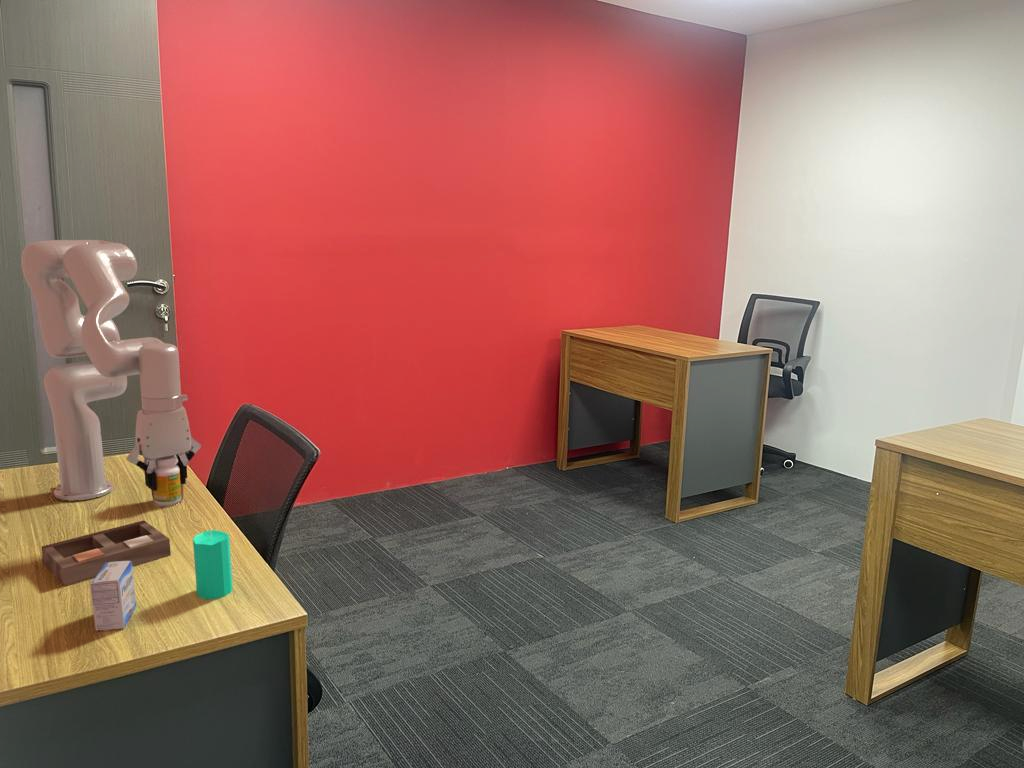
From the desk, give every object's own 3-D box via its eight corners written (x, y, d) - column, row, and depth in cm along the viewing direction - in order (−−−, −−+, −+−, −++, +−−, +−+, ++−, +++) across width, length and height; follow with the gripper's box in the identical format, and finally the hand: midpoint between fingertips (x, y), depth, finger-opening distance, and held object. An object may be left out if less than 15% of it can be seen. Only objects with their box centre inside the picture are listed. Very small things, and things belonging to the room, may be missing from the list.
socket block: (43, 563, 148) (41, 544, 147) (145, 536, 161) (143, 518, 160) (64, 586, 139) (62, 566, 138) (170, 555, 152) (169, 537, 151)
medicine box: (124, 629, 125) (119, 580, 123) (94, 632, 124) (89, 583, 122) (137, 606, 132) (132, 559, 130) (109, 608, 131) (104, 561, 129)
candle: (196, 586, 139) (191, 524, 137) (231, 581, 142) (227, 520, 139) (197, 601, 134) (192, 537, 131) (233, 595, 136) (229, 532, 134)
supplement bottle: (171, 506, 161) (168, 462, 158) (148, 503, 162) (145, 459, 159) (186, 497, 166) (184, 454, 163) (164, 494, 167) (161, 452, 164)
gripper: (194, 393, 167) (198, 472, 171) (111, 405, 155) (117, 490, 159) (210, 400, 162) (214, 481, 166) (125, 413, 150) (131, 500, 154)
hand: (166, 484), depth 163 cm, fingers closed on supplement bottle, 5 cm apart
